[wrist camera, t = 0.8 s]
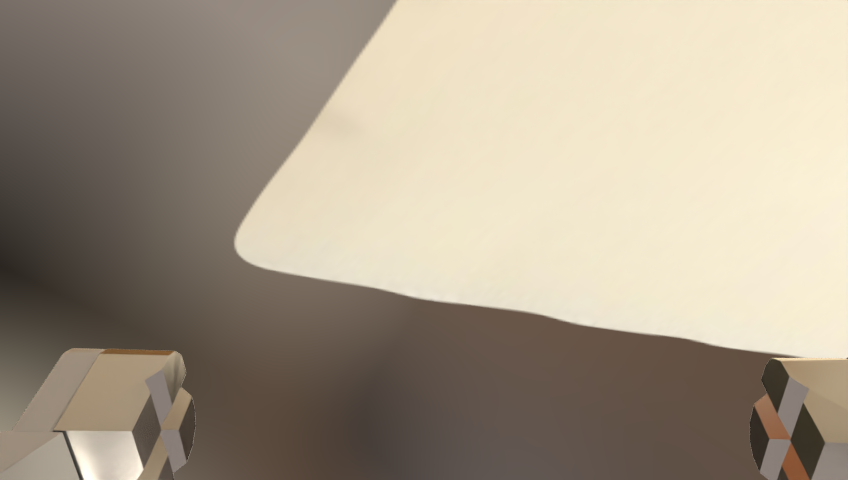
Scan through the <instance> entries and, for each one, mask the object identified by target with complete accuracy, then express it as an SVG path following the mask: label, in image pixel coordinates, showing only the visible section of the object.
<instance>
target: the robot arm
mask: <svg viewBox="0 0 848 480" xmlns="http://www.w3.org/2000/svg"><path fill="white" fill-rule="evenodd" d="M185 375H186V370H185V366H184V363H183V359H182V356H181V354H179V353H177V352H176V351H161V350H131V349H106V350H105V349H84V348H72V349H70V350H69V351H67V352H65V353H64V354H63V355H62V356H61V357H60V359H59V360H58V362H57V363H56V365H55V366H54V368H53V370H52V371H51V372H50V374H49V375H48V377H47V378H46V380H45V381H44V383H43V384H42V386H41V388H40V389H39V390H38V392H37V393H36V395H35V396H34V398H33V399H32V401H31V402H30V404H29V405H28V407H27V408H26V410H25V411H24V413H23V414H22V416H21V417H20V419H19V420H18V422H17V423H16V425H15V426H14V428H13V429H12V431H0V480H174V476H173V473H174V472H175V471H177V470H178V469H179V468H180V467H182V466H183V465H184V464H185V463H187V460H188V457H189V454H190V452H191V449H192V446H193V440H194V433H195V427H196V424H195V423H196V422H195V408H194V404H193V399H192V396H191V395H190V394H188V393H187V392H186V391H185V390H184V389H183V388H182V387H181V384H182V382H183V379H184V377H185ZM761 381H762V383H763V385H764V387H765V389H766V392H767V394H766V395H765V396H764V397H763V398H761V399H760V400H759V401H758V402H756V403H755V404H754V407H753V411H752V415H751V419H750V444H751V449H752V454H753V458H754V460H755V463H756V465H757V467H758V470H759V472H760V473H761V474H762V475H763V476H765V477H766V478H767V479H768V480H848V358H846V359H843V358H771V359H770V360H769V362H768V363H767V364H766V366H765V369H764V372H763V375H762V378H761Z"/></svg>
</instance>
